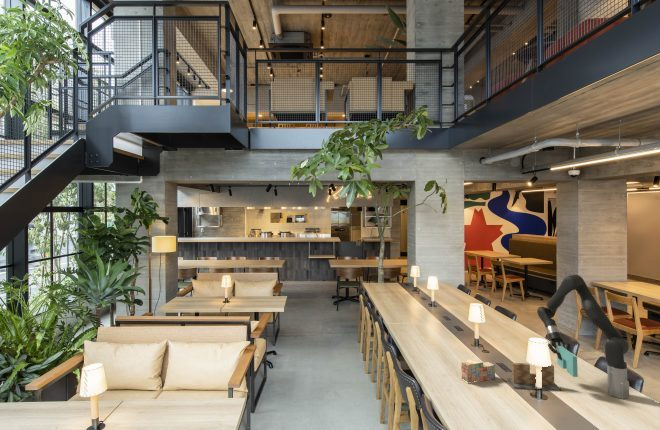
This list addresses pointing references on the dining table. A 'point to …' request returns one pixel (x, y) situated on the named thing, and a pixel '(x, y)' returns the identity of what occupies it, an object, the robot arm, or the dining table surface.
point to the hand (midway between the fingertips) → (563, 359)
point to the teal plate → (568, 361)
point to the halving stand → (531, 377)
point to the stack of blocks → (477, 370)
